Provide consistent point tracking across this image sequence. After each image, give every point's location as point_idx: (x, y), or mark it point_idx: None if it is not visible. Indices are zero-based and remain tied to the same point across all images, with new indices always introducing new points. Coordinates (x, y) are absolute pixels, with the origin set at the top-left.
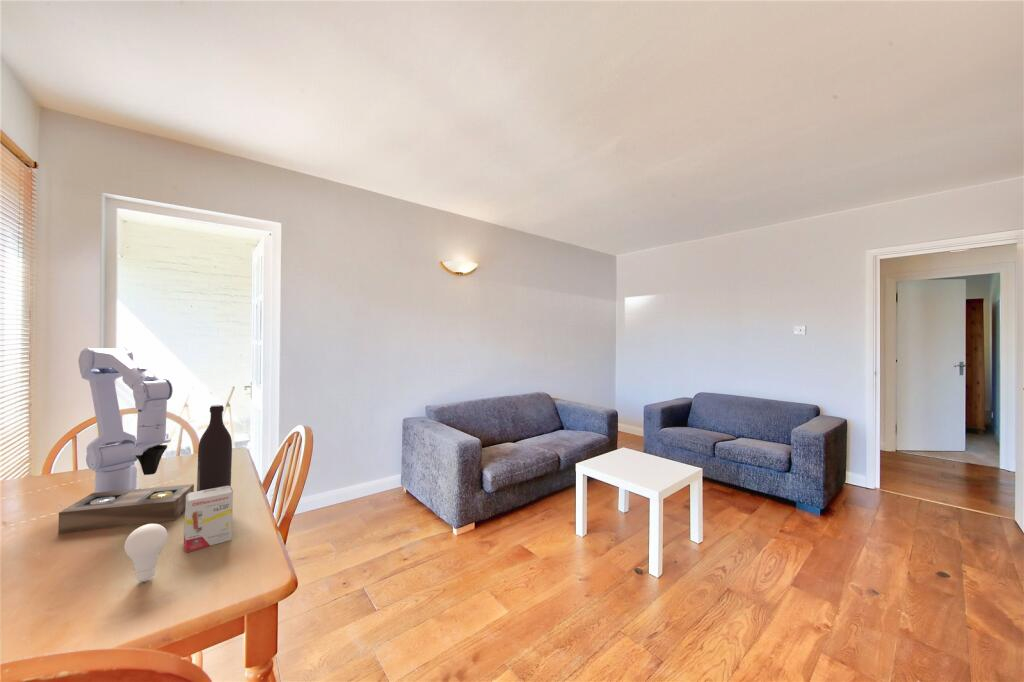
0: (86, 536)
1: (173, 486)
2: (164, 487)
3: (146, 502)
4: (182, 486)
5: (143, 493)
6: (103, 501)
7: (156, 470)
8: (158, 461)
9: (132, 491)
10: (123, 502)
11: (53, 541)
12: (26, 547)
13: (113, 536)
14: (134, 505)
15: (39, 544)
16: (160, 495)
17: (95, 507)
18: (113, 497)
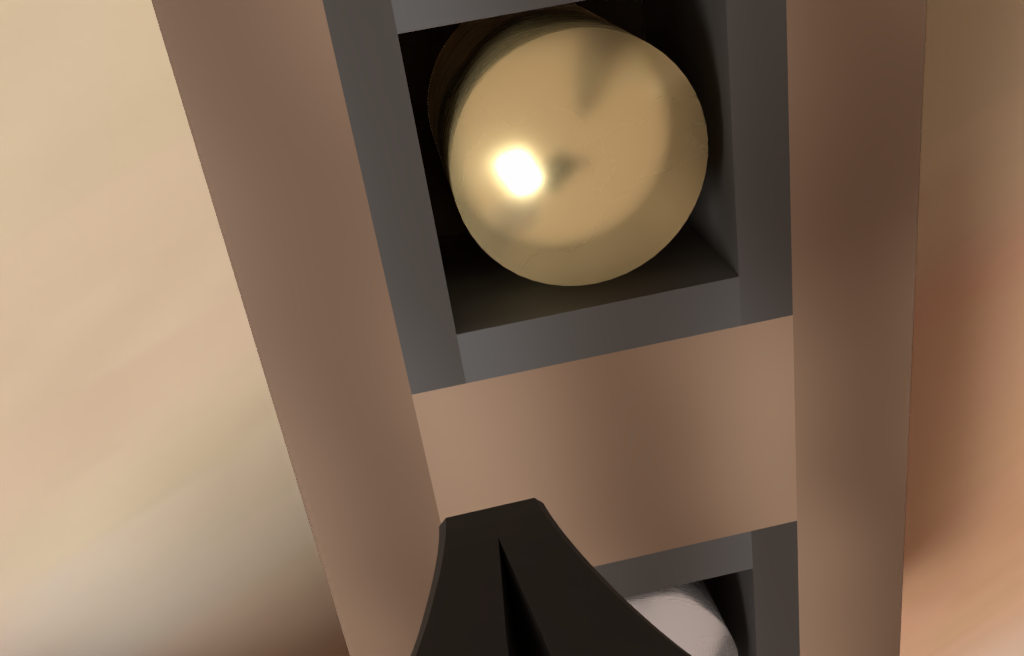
0: (930, 411)
1: (245, 201)
2: (288, 308)
3: (870, 170)
4: (250, 48)
5: (511, 424)
6: (685, 650)
7: (460, 532)
8: (496, 650)
9: (419, 590)
10: (786, 440)
11: (942, 561)
12: (981, 640)
13: (1012, 196)
14: (913, 260)
15: (961, 605)
16: (620, 156)
17: (863, 597)
18: None
